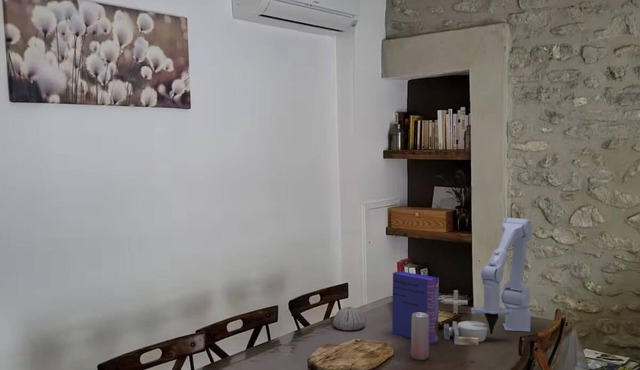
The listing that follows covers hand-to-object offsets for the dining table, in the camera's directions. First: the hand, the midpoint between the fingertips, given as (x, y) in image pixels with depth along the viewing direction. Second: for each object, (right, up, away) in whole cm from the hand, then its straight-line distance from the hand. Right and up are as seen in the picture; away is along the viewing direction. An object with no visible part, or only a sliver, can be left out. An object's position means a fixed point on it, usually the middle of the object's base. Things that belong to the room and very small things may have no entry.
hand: (491, 333), depth 230 cm
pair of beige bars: (-8, -2, +1) cm, 9 cm away
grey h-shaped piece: (-15, -2, +3) cm, 15 cm away
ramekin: (-7, -3, +1) cm, 7 cm away
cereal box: (-28, -2, +3) cm, 28 cm away
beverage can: (-30, -4, -19) cm, 36 cm away
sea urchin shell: (-52, -2, +16) cm, 55 cm away
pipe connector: (-6, 0, +35) cm, 36 cm away
